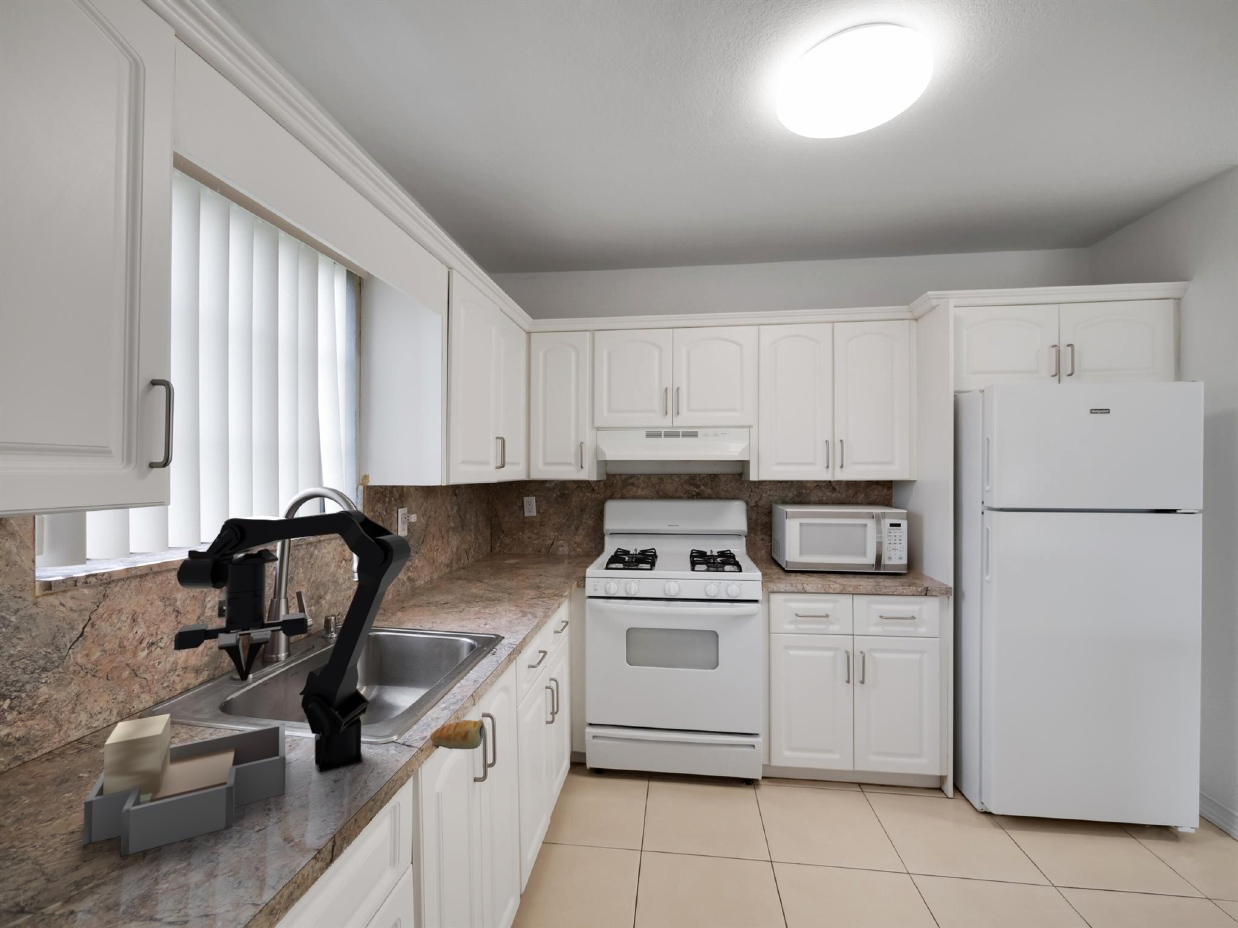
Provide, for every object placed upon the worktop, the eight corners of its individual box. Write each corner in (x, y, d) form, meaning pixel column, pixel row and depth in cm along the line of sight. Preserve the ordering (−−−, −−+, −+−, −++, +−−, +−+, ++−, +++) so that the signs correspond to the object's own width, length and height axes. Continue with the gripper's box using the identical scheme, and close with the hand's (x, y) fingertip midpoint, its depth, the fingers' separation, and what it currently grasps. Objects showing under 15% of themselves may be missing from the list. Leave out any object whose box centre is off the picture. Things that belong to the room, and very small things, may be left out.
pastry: (425, 752, 97) (425, 730, 97) (436, 734, 104) (436, 714, 104) (479, 750, 98) (479, 728, 98) (487, 733, 104) (487, 713, 104)
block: (169, 765, 85) (170, 713, 86) (159, 790, 79) (160, 733, 79) (117, 776, 82) (119, 722, 83) (103, 803, 75) (104, 744, 76)
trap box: (284, 755, 96) (284, 723, 96) (285, 812, 79) (285, 772, 79) (110, 794, 84) (111, 757, 84) (69, 870, 68) (70, 824, 68)
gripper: (305, 577, 108) (304, 658, 107) (184, 587, 98) (182, 676, 98) (308, 586, 98) (307, 675, 98) (174, 598, 89) (172, 697, 88)
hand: (244, 680), depth 96 cm, fingers closed
